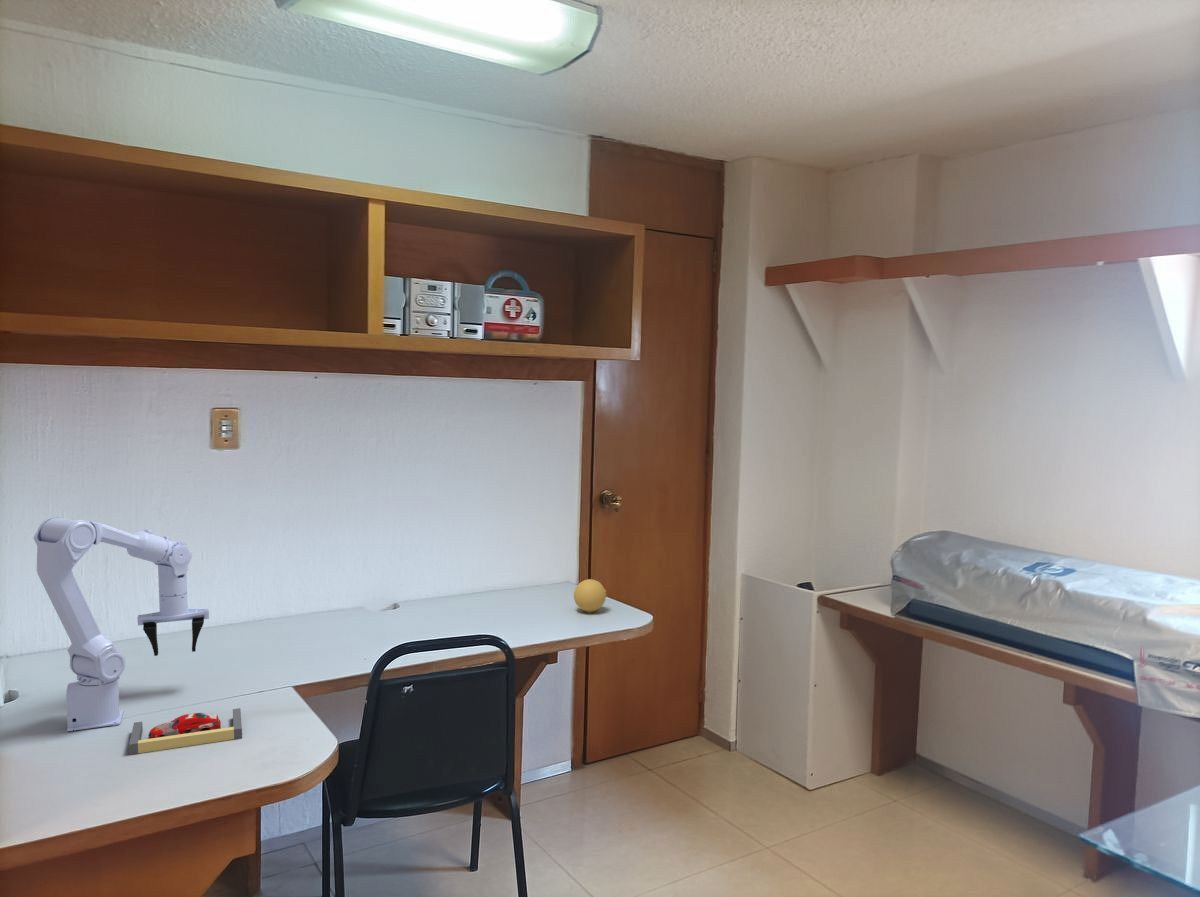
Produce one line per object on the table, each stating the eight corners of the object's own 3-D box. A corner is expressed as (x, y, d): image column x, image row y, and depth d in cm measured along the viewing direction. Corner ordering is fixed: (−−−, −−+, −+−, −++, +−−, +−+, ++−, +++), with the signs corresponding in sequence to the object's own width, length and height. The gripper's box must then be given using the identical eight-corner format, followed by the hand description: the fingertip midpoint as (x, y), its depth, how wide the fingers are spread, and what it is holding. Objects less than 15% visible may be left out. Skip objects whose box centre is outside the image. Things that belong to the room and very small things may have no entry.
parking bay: (129, 754, 168) (128, 744, 168) (134, 732, 178) (134, 722, 178) (242, 738, 176) (241, 728, 176) (240, 717, 186) (240, 708, 186)
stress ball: (596, 619, 265) (617, 595, 268) (575, 597, 263) (596, 573, 266) (583, 616, 274) (604, 593, 278) (562, 594, 272) (584, 571, 275)
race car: (148, 747, 172) (147, 727, 172) (149, 737, 177) (148, 717, 177) (221, 735, 178) (220, 716, 178) (220, 725, 183) (219, 706, 182)
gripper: (208, 586, 205) (210, 643, 206) (138, 592, 199) (140, 651, 200) (208, 593, 198) (210, 652, 200) (135, 600, 193) (138, 660, 194)
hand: (175, 652), depth 200 cm, fingers open, 7 cm apart
